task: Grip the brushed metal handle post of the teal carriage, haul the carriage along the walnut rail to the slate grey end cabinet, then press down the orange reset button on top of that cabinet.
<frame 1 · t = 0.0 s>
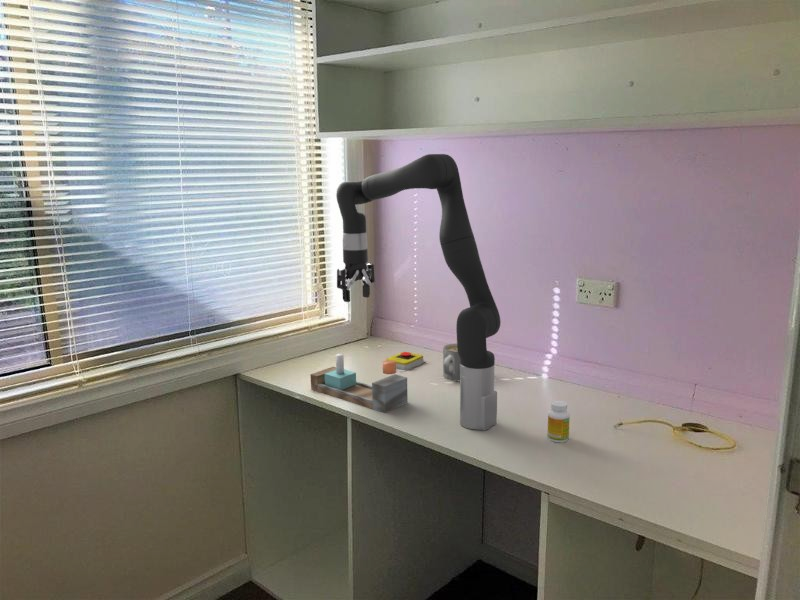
hand: (356, 299, 204), 29 cm above the table, tool pointing down, fingers open, 8 cm apart
supplement bottle: (557, 439, 171), on the table
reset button: (389, 367, 193), point 12 cm above the table, slide at 2.5 cm
rail: (355, 395, 205), on the table
carriage: (340, 370, 208), point 7 cm above the table, slide at 11.5 cm
coffee mug: (454, 377, 220), on the table
emergency button: (404, 366, 235), on the table
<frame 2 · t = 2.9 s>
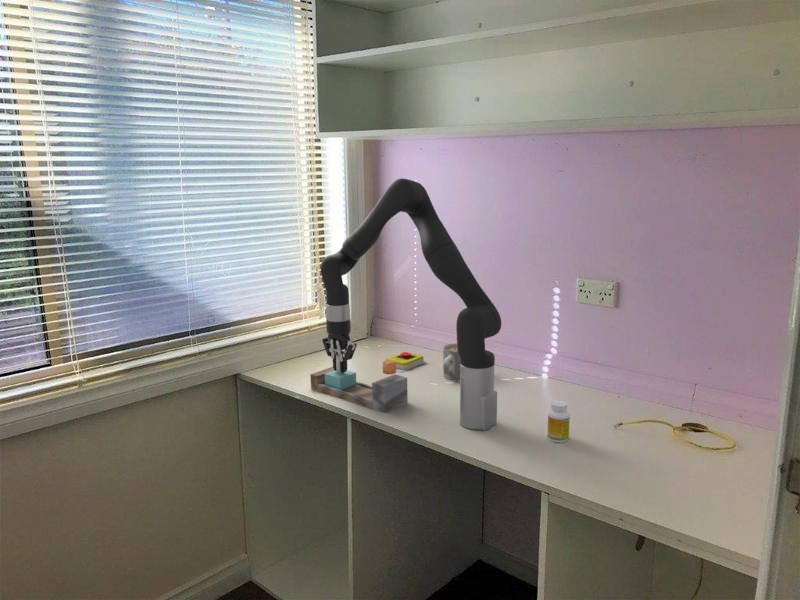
hand: (340, 370, 208), 7 cm above the table, tool pointing down, fingers closed on carriage, 2 cm apart
carriage: (340, 370, 208), point 7 cm above the table, slide at 11.5 cm, touching gripper
everything else where it was.
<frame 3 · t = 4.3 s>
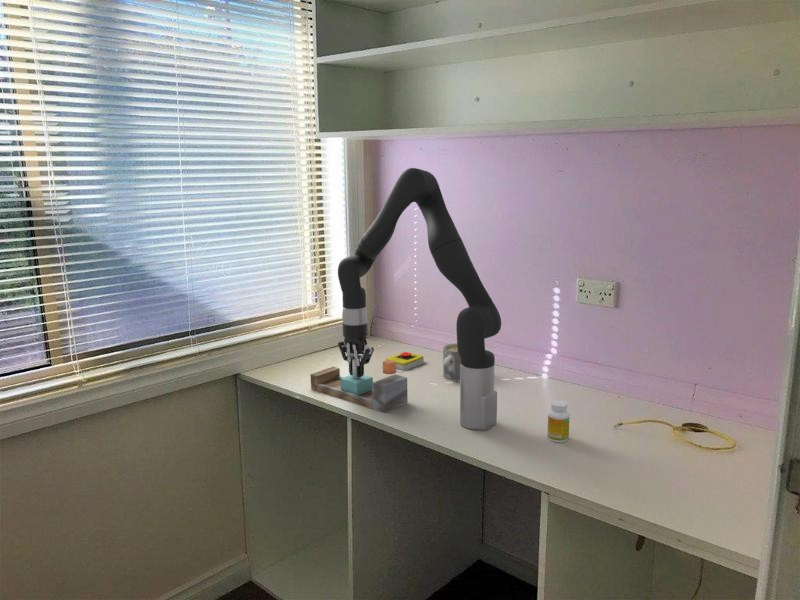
hand: (356, 375, 203), 7 cm above the table, tool pointing down, fingers closed on carriage, 2 cm apart
carriage: (356, 374, 203), point 7 cm above the table, slide at 4.2 cm, touching gripper
everything else where it was.
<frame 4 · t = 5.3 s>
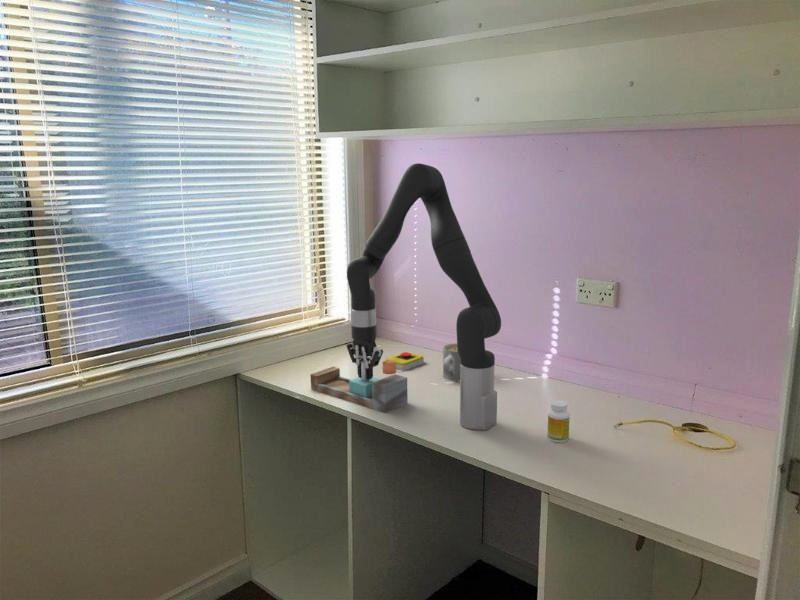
hand: (365, 377, 201), 7 cm above the table, tool pointing down, fingers closed on carriage, 2 cm apart
carriage: (365, 377, 201), point 7 cm above the table, slide at 0.5 cm, touching gripper
everything else where it was.
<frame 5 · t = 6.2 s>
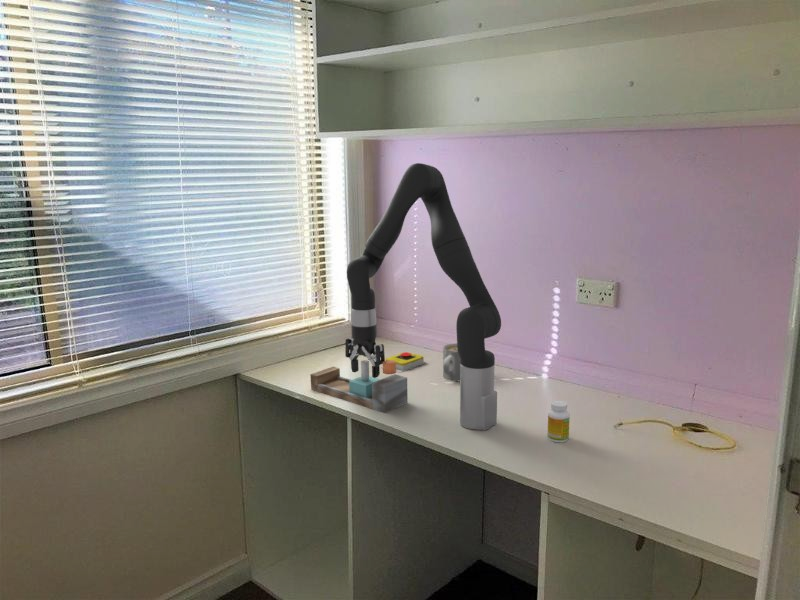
hand: (365, 374, 200), 8 cm above the table, tool pointing down, fingers open, 8 cm apart
carriage: (365, 377, 201), point 7 cm above the table, slide at 0.5 cm
everything else where it was.
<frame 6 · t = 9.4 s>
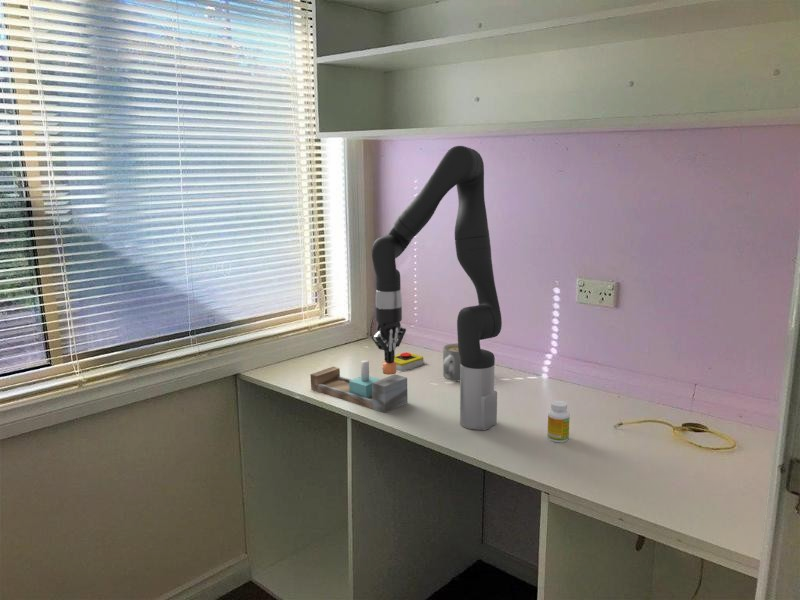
hand: (389, 362, 193), 13 cm above the table, tool pointing down, fingers closed
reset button: (389, 367, 193), point 12 cm above the table, slide at 2.4 cm, touching gripper
everything else where it was.
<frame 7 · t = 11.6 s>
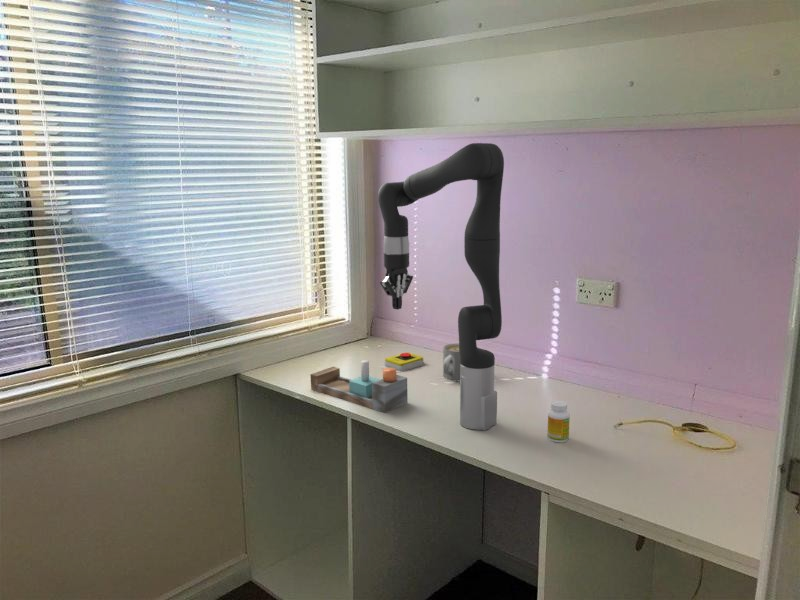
hand: (397, 308, 197), 28 cm above the table, tool pointing down, fingers closed
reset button: (389, 374, 194), point 10 cm above the table, slide at 0.2 cm
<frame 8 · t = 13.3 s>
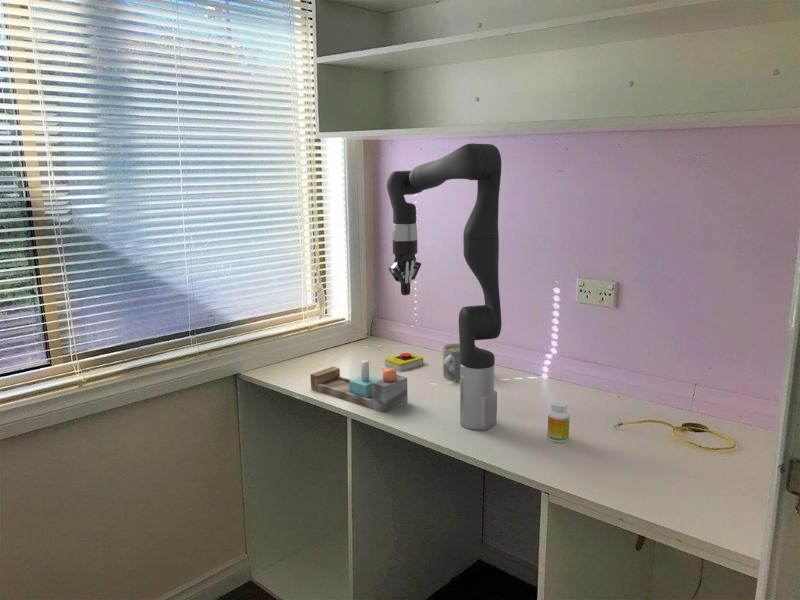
hand: (405, 294, 202), 31 cm above the table, tool pointing down, fingers closed
at the end: carriage slide at 0.5 cm; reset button slide at 0.2 cm; the gripper is holding nothing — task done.
